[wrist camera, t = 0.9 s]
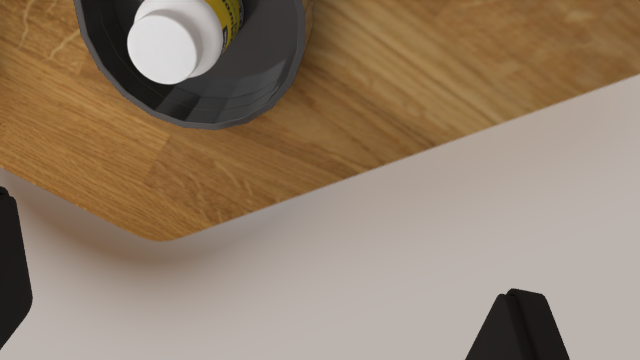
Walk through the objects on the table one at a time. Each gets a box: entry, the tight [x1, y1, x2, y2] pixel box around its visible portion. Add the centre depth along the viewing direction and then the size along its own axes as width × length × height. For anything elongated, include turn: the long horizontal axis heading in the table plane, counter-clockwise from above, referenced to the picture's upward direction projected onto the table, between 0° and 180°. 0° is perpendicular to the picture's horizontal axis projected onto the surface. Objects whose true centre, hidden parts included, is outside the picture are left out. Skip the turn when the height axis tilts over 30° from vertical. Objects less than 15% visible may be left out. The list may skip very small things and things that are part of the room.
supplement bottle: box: [127, 0, 244, 84], centre depth 33 cm, size 5×5×10 cm
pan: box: [74, 0, 313, 130], centre depth 35 cm, size 15×15×5 cm
